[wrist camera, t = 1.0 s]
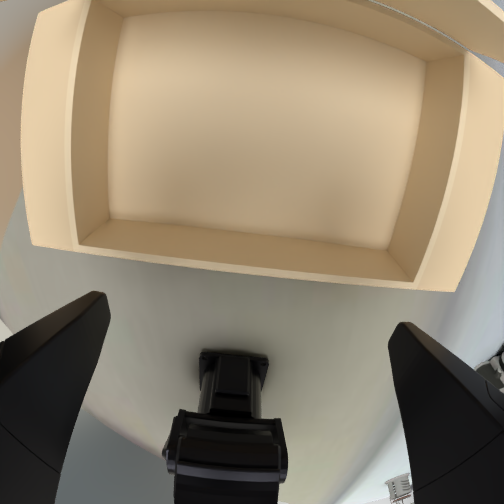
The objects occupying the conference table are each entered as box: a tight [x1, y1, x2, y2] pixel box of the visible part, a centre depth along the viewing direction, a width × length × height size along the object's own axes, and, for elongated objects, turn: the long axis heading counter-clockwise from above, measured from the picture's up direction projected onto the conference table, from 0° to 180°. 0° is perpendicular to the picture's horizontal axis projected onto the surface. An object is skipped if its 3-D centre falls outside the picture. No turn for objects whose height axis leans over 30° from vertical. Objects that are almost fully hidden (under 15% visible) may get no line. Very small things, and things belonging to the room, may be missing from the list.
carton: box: [21, 0, 504, 292], centre depth 14 cm, size 16×30×5 cm, turn 83°
